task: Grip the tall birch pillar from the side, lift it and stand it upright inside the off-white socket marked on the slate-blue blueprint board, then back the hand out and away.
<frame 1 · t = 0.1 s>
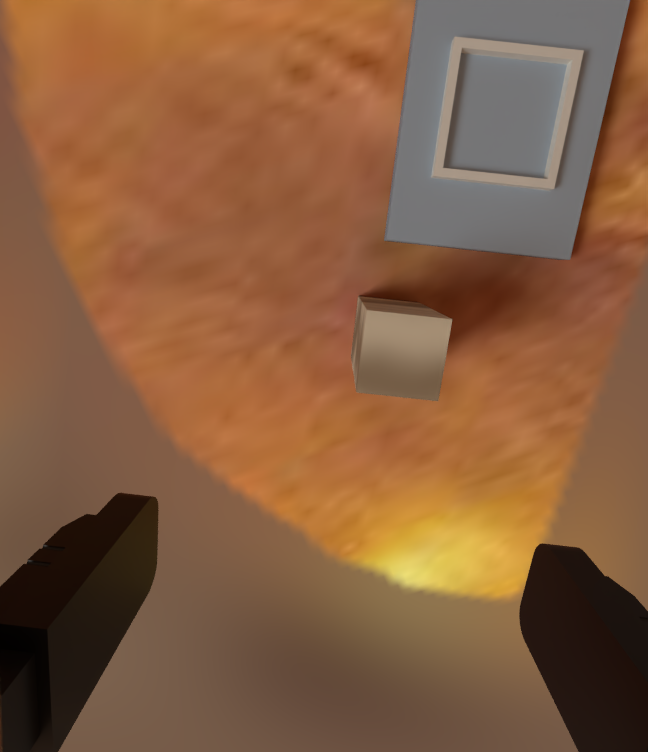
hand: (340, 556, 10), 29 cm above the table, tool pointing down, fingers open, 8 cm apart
board: (494, 124, 34), on the table
pillar: (384, 329, 38), on the table
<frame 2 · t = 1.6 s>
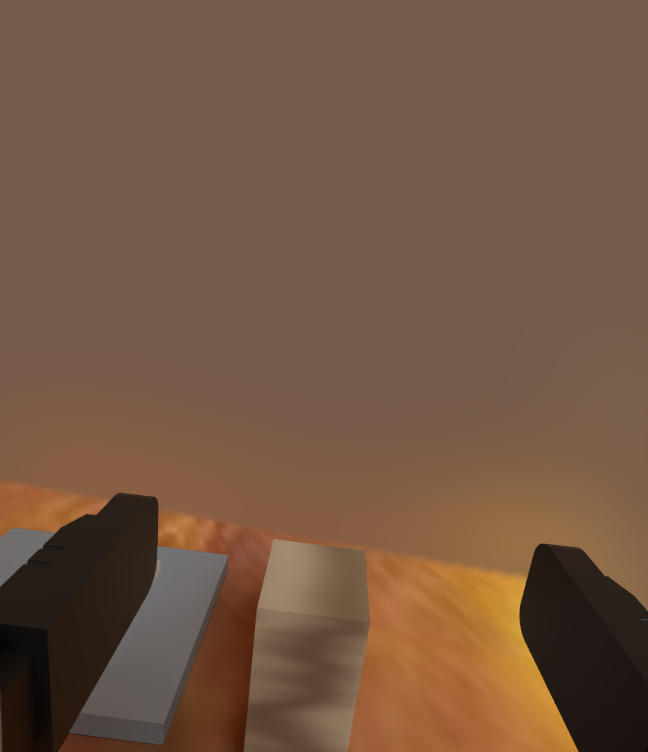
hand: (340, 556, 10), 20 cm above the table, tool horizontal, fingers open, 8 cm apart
board: (72, 622, 31), on the table
pillar: (294, 743, 25), on the table
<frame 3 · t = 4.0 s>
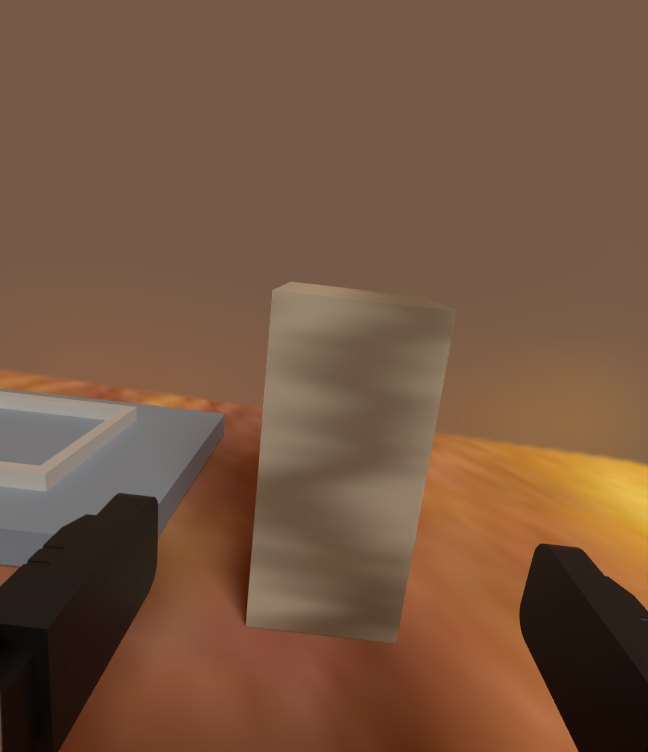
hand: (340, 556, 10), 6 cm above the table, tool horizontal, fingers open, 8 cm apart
board: (15, 466, 23), on the table
pillar: (323, 583, 17), on the table
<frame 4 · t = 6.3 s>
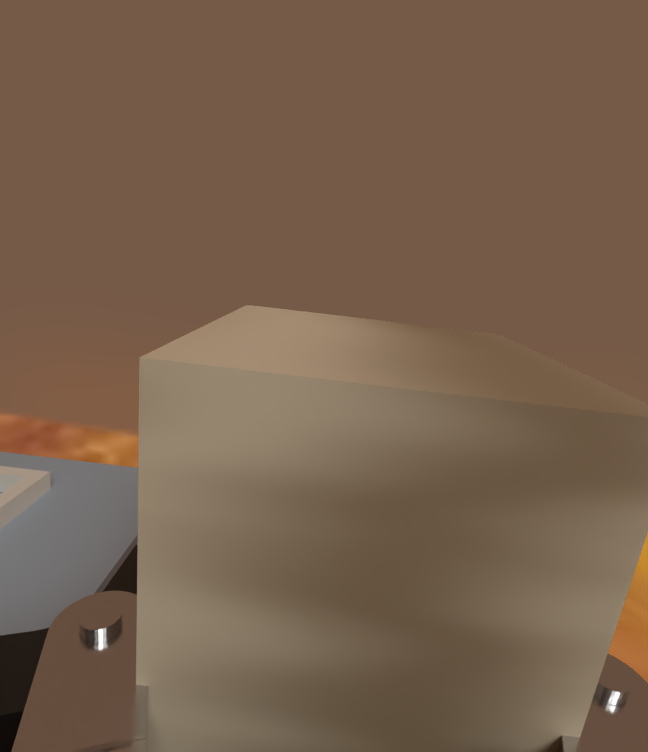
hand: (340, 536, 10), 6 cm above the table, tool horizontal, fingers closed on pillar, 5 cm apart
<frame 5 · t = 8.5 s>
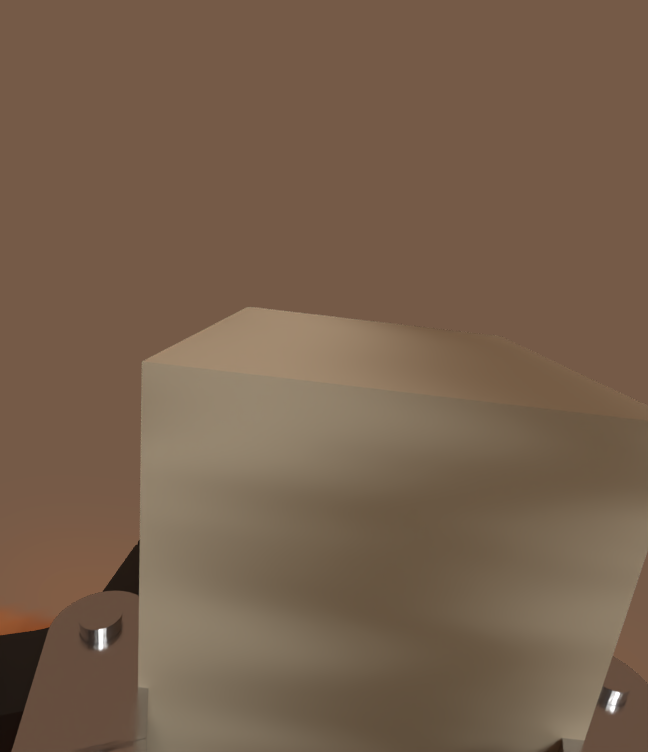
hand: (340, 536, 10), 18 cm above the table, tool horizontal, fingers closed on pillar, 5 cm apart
when the fingers open (9 cm above the table, at t = 11.0 s): pillar drops 1 cm, resting on board.
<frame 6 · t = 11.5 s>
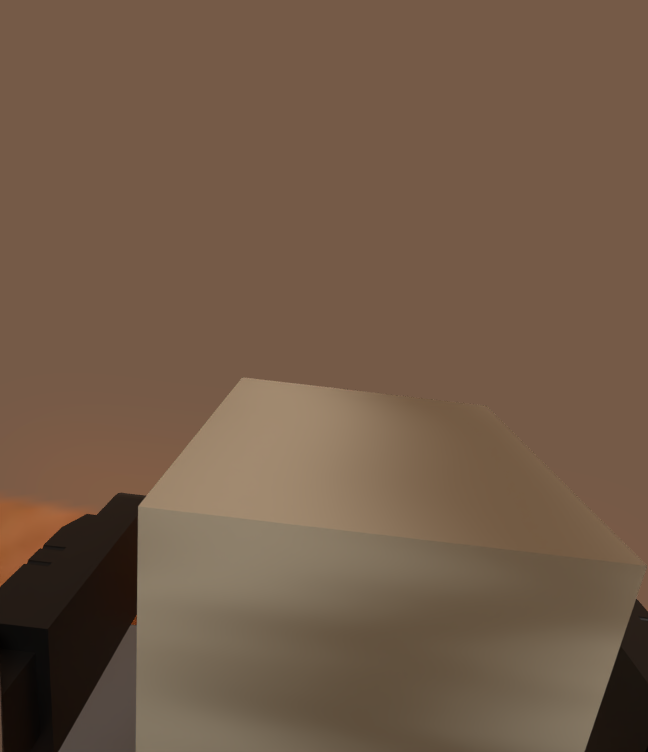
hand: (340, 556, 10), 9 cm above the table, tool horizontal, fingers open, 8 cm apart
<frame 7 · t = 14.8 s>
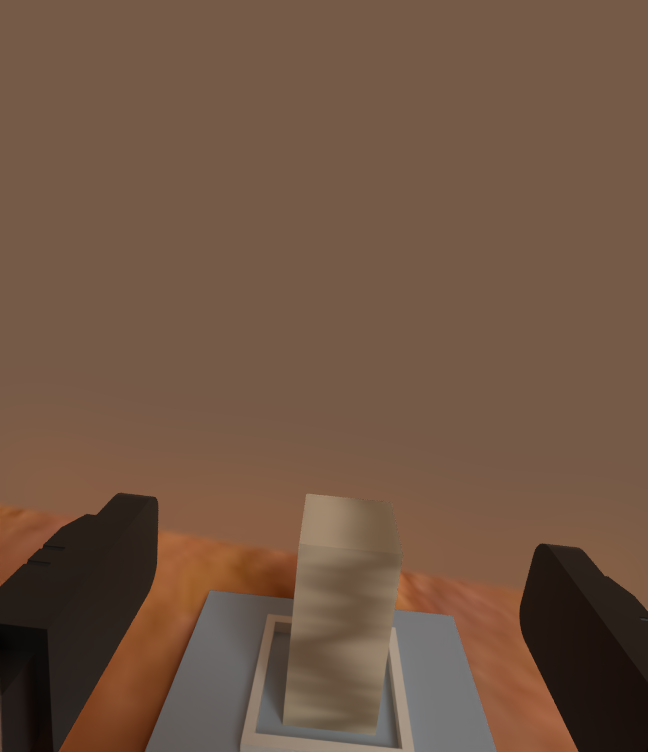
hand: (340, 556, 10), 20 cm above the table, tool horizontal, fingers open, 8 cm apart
board: (326, 708, 27), on the table
pillar: (329, 688, 27), point 1 cm above the table, touching board
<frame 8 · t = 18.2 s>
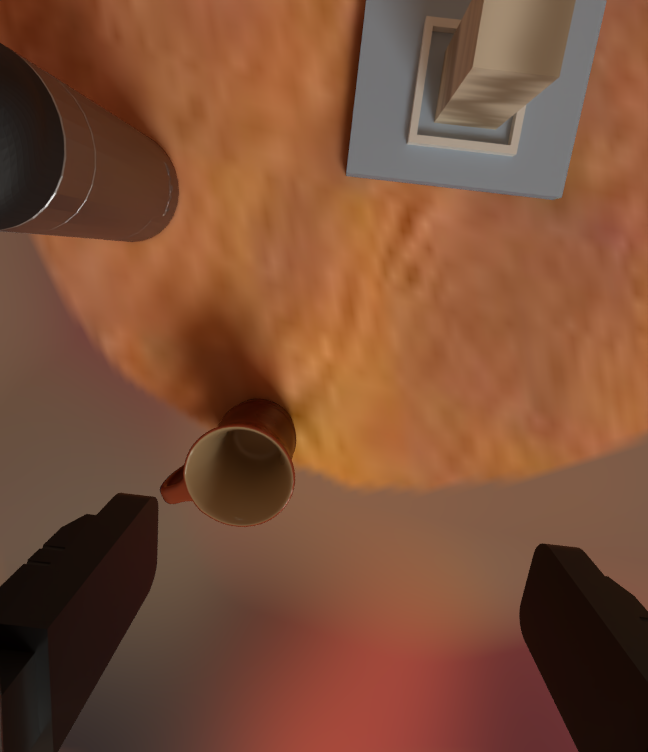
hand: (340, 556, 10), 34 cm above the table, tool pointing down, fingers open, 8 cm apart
mug: (246, 434, 46), on the table
board: (464, 97, 38), on the table
pillar: (470, 91, 36), point 1 cm above the table, touching board
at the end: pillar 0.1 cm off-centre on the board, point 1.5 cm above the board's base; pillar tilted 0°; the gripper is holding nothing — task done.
